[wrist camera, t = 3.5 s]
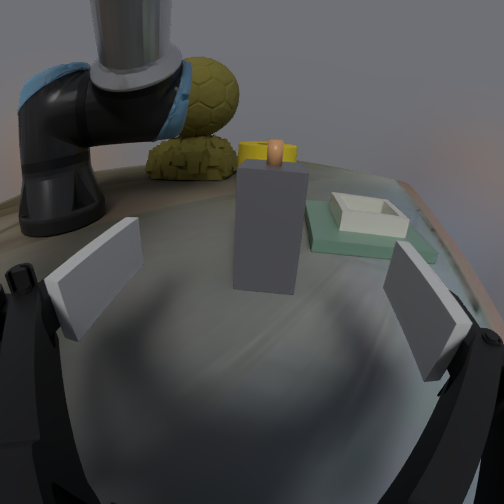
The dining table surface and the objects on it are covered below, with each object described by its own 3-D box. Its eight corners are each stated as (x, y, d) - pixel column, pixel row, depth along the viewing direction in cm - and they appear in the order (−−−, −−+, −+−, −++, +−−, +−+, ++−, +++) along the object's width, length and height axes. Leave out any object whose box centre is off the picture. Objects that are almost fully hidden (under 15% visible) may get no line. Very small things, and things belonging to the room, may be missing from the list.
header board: (311, 251, 31) (316, 216, 29) (303, 208, 45) (306, 184, 44) (434, 263, 30) (444, 233, 28) (394, 219, 44) (399, 197, 42)
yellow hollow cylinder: (292, 207, 46) (297, 149, 42) (231, 201, 47) (233, 144, 43) (292, 192, 55) (296, 144, 51) (241, 187, 56) (243, 140, 52)
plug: (233, 288, 24) (238, 139, 19) (242, 261, 28) (247, 136, 23) (293, 294, 24) (311, 145, 18) (292, 266, 28) (306, 140, 23)
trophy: (135, 181, 60) (136, 53, 47) (167, 165, 80) (169, 67, 66) (232, 183, 59) (239, 44, 46) (242, 166, 79) (248, 64, 66)
